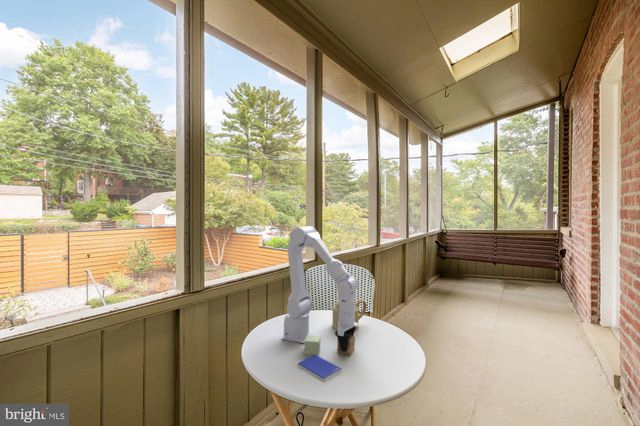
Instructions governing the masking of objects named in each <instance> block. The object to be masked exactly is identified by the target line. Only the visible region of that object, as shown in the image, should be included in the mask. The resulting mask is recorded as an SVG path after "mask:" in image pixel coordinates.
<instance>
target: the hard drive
mask: <svg viewBox="0 0 640 426" xmlns="http://www.w3.org/2000/svg"><path fill="white" fill-rule="evenodd" d="M297 366H298V367H300V368H301V369H303V370H304V371H306V372H308V373H310V374H311V375H314V376H315V377H317V378H318V379H320V380H321V381H324V382H325V381H328V380H329V379H331V378H332V377H334V376H337V375H338V374H340V373H342V372H343V368H342V367H339V366H337V365H336V364H334V363H332V362H330V361H328V360H326V359H324V358H322V357H320V356H318V355H310V356H309V357H307V358H305V359H303V360H301V361H299V362H297Z"/></svg>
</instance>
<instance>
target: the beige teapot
mask: <svg viewBox="0 0 640 426" xmlns="http://www.w3.org/2000/svg"><path fill="white" fill-rule="evenodd" d="M361 303H363V306H362V310H361V312H359V309H360V307H359V306H360V304H361ZM366 311H367V302H366V301H365V300H364V299H358V300H357V302H355V323H358V324H359V320H360V319H361V318H362V317H363V316H364V315H365V313H366ZM338 321H339V299H338V300H336V302H335V304H334V305H333V306H332V328H333V329H334V330H335V331H336V330H338ZM358 329H359V325H358V326H357V327H356V329H355V332H356V331H357V330H358Z"/></svg>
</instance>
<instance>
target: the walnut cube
mask: <svg viewBox="0 0 640 426" xmlns="http://www.w3.org/2000/svg"><path fill="white" fill-rule="evenodd" d="M336 340H337V342H336V343H337V345H336V346H337V349H336V353H337V354H339V353H340V355H344V354H345V356H351V357H352V354H353V353H354V351H355V350H356V349H355V347H356V345H355V343H356V342H355V341H356V336H355V335H353V336H350V339H349V342H348V348H347V351H346V352H345V351H341V349H340V345H339V341H338V338H336Z"/></svg>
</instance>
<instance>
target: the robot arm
mask: <svg viewBox="0 0 640 426" xmlns="http://www.w3.org/2000/svg"><path fill="white" fill-rule="evenodd" d="M305 247H308V248H311V249H313V250H314V251H315V252H316V254H317V255H318V256H319V257H320V258H321V260H322V261H323V262H324V263H325V270H326V272H327V273H328V274H329V276H330V277H331V279H332V280H333V281H334V283H335V284H336V286H335V287H336V291H337V293H338V300H339V321H338V330H335V331H334V334H335V336H336V339H338V341H339V345H340V349H341V351H345V352H346V351H347V348H348V342H349V339H350V336H355V332H356V331H355V329H356V327H357V326H358V327H359V322H358V323H355V306H356V290H357V289H358V287H359V282H358V280H357V278H356V277H355V276H353V275H351V274H350V272H348V271H347V270H346V268H345V267H344V266H343V265H344V263H343V262H342V261H340V260H339V259H337V258H335V257H333V255H332V254H331V252H330V250H329V249H328V248H327V246H326V244H325V243H324V241H323V240H322V238H321V235H320V233H319V231H317V229H316V228H315V227H314V226H312V225H307V226H302V227H301V226H300V227H299V226H298V227H294V228H293V229H292V230H291V231H290V232H289V240H288V244H287V257H288V268H289V277H290V287H291V293H290V294H289V296H288V298H287V306H286V312H287V314H286V315H285V316H284V319H283V337H282V340H286V341H290V342H296V343H300V344H301V343H302V344H305V339H306V336H307V335H313V334H312V333H310V331H309V330H310V311H311V310H312V308H313V300H312V299H311V297H310V296H311V295H310V292H308V290H307V288H306V281H305V279H306V278H305V271H304V260H303V250H304V249H305Z"/></svg>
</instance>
